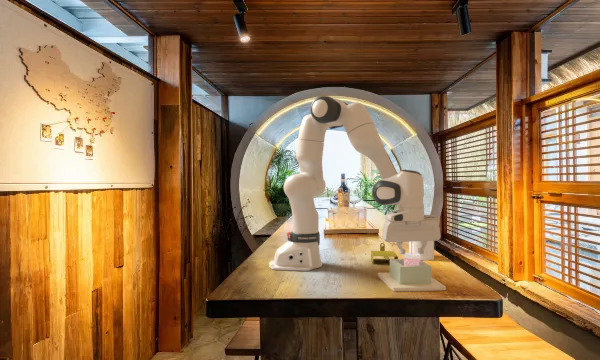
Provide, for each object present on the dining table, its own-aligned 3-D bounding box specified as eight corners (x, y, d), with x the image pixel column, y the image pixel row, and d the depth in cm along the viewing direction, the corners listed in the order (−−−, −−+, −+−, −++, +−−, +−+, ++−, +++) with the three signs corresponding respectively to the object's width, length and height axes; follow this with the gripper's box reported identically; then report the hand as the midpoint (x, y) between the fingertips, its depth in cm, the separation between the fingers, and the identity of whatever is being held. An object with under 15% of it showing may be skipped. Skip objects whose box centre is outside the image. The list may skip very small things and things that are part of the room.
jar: (407, 254, 174) (407, 223, 174) (427, 254, 174) (427, 223, 174) (414, 260, 162) (415, 227, 162) (436, 260, 162) (436, 227, 162)
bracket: (368, 249, 152) (365, 242, 167) (368, 267, 152) (365, 259, 167) (406, 250, 150) (399, 243, 165) (405, 269, 150) (399, 260, 165)
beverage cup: (401, 276, 133) (401, 238, 132) (418, 276, 133) (418, 238, 132) (404, 281, 127) (404, 242, 126) (422, 282, 126) (422, 242, 126)
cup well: (393, 291, 120) (393, 269, 120) (377, 275, 138) (377, 257, 138) (445, 290, 121) (446, 268, 121) (423, 274, 139) (423, 256, 139)
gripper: (435, 213, 133) (435, 250, 133) (381, 214, 132) (381, 252, 132) (443, 215, 127) (444, 254, 127) (386, 216, 125) (387, 256, 125)
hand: (411, 253), depth 129 cm, fingers closed on beverage cup, 5 cm apart
